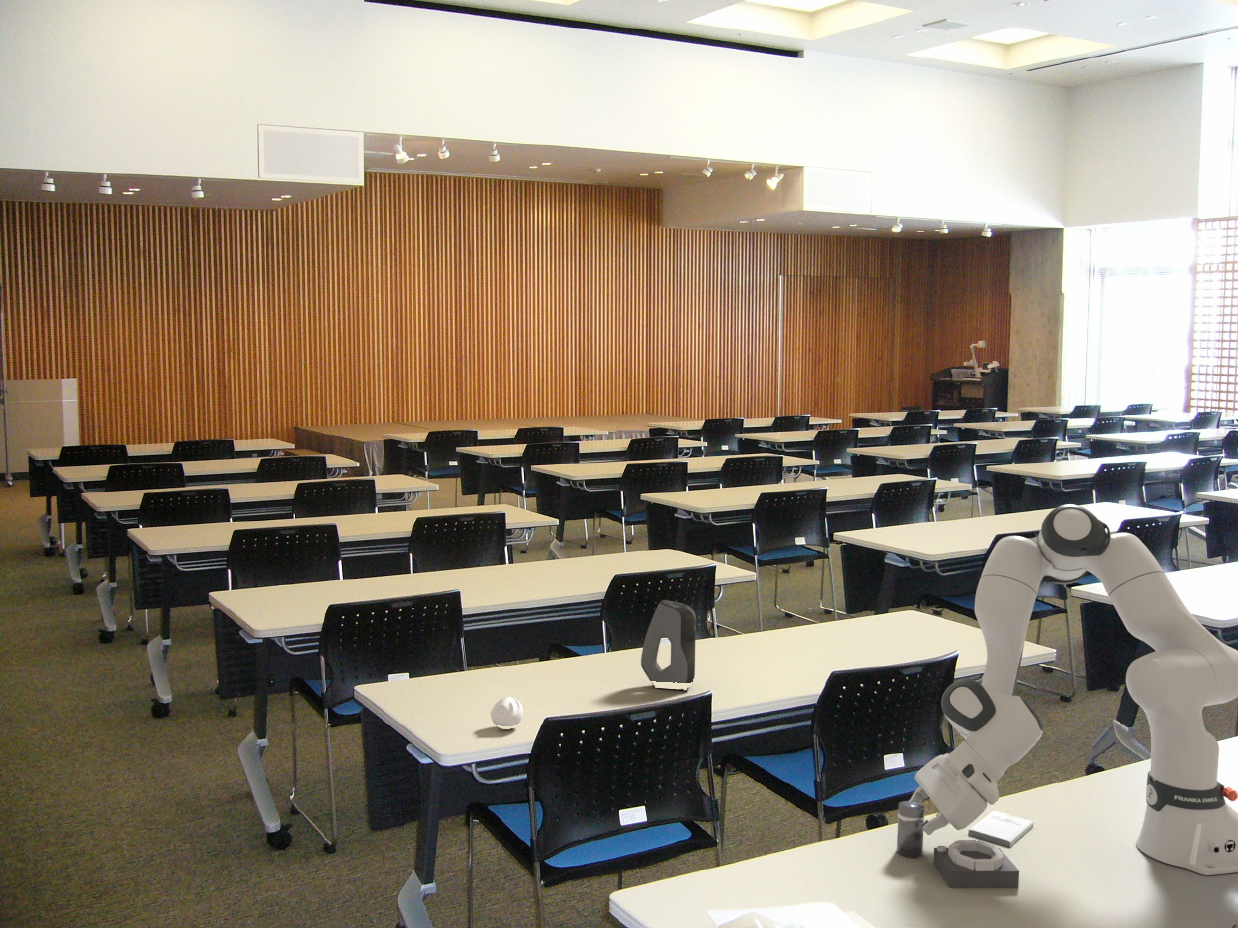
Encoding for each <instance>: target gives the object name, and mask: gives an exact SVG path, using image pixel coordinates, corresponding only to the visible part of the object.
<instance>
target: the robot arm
mask: <svg viewBox="0 0 1238 928" xmlns="http://www.w3.org/2000/svg"><path fill="white" fill-rule="evenodd" d="M1088 572H1089V573H1091V574H1092V575H1094V576H1095V577H1096V578H1097V580H1098V581H1099V582H1100V583H1102V585H1103V587H1104V590H1105V592H1106V594H1107V597H1108V598H1109V599H1110V601H1111V603H1112V604H1113V607H1114V608H1115V610H1116V612H1117V614H1118V617H1120V620H1121V621H1122V623H1123V625H1124V627H1125V628H1126V630H1127V632H1128V633H1130V635H1132V636H1133V637H1134V638H1136V639H1138V640H1140V641H1142V642H1143V643H1145V644H1147V645H1148V646H1150V647H1151V648H1152V649H1153V650H1154V651H1151V652H1150V653H1147V654H1145V655H1143V656H1140V657H1139V658H1136V659H1135V660H1133V661H1132V662H1131V663H1130V665H1129V666H1128V667H1127V670H1126V673H1125V683H1126V688H1127V692H1128V693H1129V696H1130V697H1131V698H1132V700H1133V701H1134V702H1135V703H1136V704H1137V705H1138V706H1139V707H1141V709H1142V710H1143V711H1144V713H1145V717H1146V718H1147V721H1148V726H1149V729H1150V742H1151V743H1150V767H1149V769H1150V770H1149V771H1148V772H1147V778H1146V788H1145V789H1146V791H1145V792H1146V793H1145V798H1146V799H1145V800H1146V801H1145V802H1146V807H1145V814H1144V819H1143V822H1142V826H1141V829H1140V831H1139V835H1138V837H1137V839H1136V846H1137V848H1138V849H1139V850H1140V851H1141V852H1143V854H1145V855H1146V856H1148V857H1150V858H1152V859H1154V860H1156V861H1159V862H1162V863H1164V864H1167V865H1171V866H1175V867H1180V868H1182V869H1186V870H1188V871H1193V872H1194V873H1198V874H1201V875H1204V876H1212V875H1213V876H1214V875H1222V874H1223V875H1224V874H1229V873H1230V874H1231V873H1233V874H1234V873H1238V811H1236V810H1235V809H1234V808H1232V807H1231V806H1230V805H1229V804H1228V803H1226V800H1225V798H1226V799H1227V800H1229V801H1230V802H1236V801H1237V799H1238V792H1237V791H1236V790H1234V789H1233V788H1232V787H1229V786H1227V787H1225V785H1223V784H1222V782H1219V781H1218V772H1219V755H1220V745H1219V743H1218V741H1217V738H1216V737H1215V736H1213V735H1212V734H1211V733H1210V732H1209V731H1207V730H1206V727H1205V723H1204V720H1203V719H1204V718H1203V709H1204V708H1205V707H1209V706H1216V705H1222V704H1226V703H1228V702H1231V701H1233V700H1235V699H1237V698H1238V650H1237V649H1235V648H1233V647H1231V646H1228V645H1227V644H1225V643H1224V642H1222V641H1221V640H1219V639H1218V638H1217V637H1216V636H1215V635H1214V634H1212V633H1211V632H1210V631H1209V630H1208V629H1207V628H1205V627H1204V625H1203V624H1201V623H1200V621H1198V620H1197V619H1196V617H1195V616H1194V615H1192V613H1191V612H1190V611H1189V609H1188V608H1187V607H1186V606H1185V605H1186V604H1184V603H1183V601H1182V599H1181V598H1180V596H1179V594H1178V593H1177V591H1176V589H1175V588H1174V586H1173V584H1172V582H1170V579H1169V578H1168V576H1167V574H1166V573H1165V571H1164V570H1163V568H1162V566H1161V565H1160V563H1159V561H1158V560H1157V559H1156V557H1155V556H1154V555H1153V554H1152V552H1151V551H1150V550H1149V548H1148V547H1147V546H1146V545H1145V544H1144V543H1143V542H1142V541H1141V539H1140V538H1139V537H1137V536H1136V535H1134V534H1132V533H1129V532H1116V533H1111V530H1110V527H1109V526H1108V524H1106V523H1105V522H1102V521H1101V520H1099V518H1097V517H1096V515H1095V514H1093V512H1091V511H1090V510H1088V509H1087V508H1085V507H1083V506H1081V505H1077V504H1071V503H1069V504H1061V505H1059V506H1057V507H1054V508H1053V509H1052V510H1051V511H1050V512H1048V514H1047V515H1046V516H1045V518H1044V520H1043V521H1042V523H1041V527H1040V530H1039V533H1038V536H1035V537H1031V538H1027V537H1024V536H1019V535H1008V536H1005V537H1002V538H1001V539H999V541H997V543H996V544H995V546H994V547H993V549H992V551H991V553H990V555H989V556H988V559H987V561H986V563H985V566H984V568H983V570H982V573H981V576H980V578H979V582H978V585H977V587H976V591H975V592H976V593H975V597H974V598H975V599H974V614H975V617H976V619H977V622H978V624H979V627H980V630H981V632H982V635H983V638H984V643H985V647H986V663H985V668H984V672H983V676H982V681H981V683H980V682H979V681H977V680H975V679H972V678H971V679H970V678H964V679H959V680H957V681H954V682H953V683H951V684H950V685H948V686H947V687H946V689H945V690H944V692H943V694H942V696H941V700H940V705H941V707H940V708H941V711H942V713H943V714H944V716H945V718H946V720H947V721H948V722H949V724H951V726H952V727H953V728H954V729H955V730H956V732H958V734H959V735H960V736H961V738H962V739H963V741H962V742H961V743H960V744H959V745H958V746H957V747H955V749H953V750H952V751H951V752H946V753H944V754H939V755H937V756H935V757H934V758H933V759H931V760H930V761H929V762H927V763H925V765H924V766H922V767H921V768H920V769H919V770H918V771H917V772H916V773H915V776H914V780H915V781H916V782H917V784H918V785H919V786H918V787H916V788H915V790H914V792H913V794H912V796H911V798H910V799H909V800H908V801H914V802H918V803H920V804H922V802H923V801H924V800H927V799H928V798H929V800H931V802H932V803H933V804H934V805H935V807H936V809H938V812H937V813H935V817H933V818H931V819H929V820H928V819H926V820H924V823H923V824H922V825H921V828H922V829H923V833H925V834H926V835H927V836H931V835H932V834H933V833H934V832H935V831H936V830H940V829H942V828H945V827H946V826H948V825H949V824H950V825H951V826H952V827H953V828H954V829H955V830H956V831H960V830H963V829H965V828H967V827H968V826H970V825H971V824H972V823H974V821H975V820H976V819H978V818H979V817H980V816H981V815H982V814H983V813H984V812H985V811H986V809H987V808H988V804H989V805H992V806H993V805H994V804H996V803H997V802H998V801H999V799H1000V794H999V789H998V780H999V779H1001V778H1002V776H1003V775H1004V774H1005V772H1006V770H1007V769H1008V768H1009V767H1010V766H1012V765H1014V764H1015V763H1018V762H1019V761H1020V760H1021V759H1022V758H1023V757H1024V756H1026V755H1027V753H1028V752H1029V751H1030V750H1032V749H1033V747H1034V746H1035V745H1036V743H1038V741H1039V740H1040V739H1041V737H1042V735H1043V733H1044V730H1045V729H1044V724H1043V722H1042V720H1041V719H1040V717H1039V716H1038V714H1037V712H1035V710H1034V709H1033V708H1032V707H1031V705H1030V704H1029V702H1028V701H1027V700H1026V699H1025V698H1024V697H1022V696H1019V695H1015V693H1016V686H1017V682H1018V677H1019V673H1020V669H1021V664H1022V658H1023V653H1024V652H1023V651H1024V646H1025V641H1026V636H1027V632H1028V628H1029V623H1030V620H1031V617H1032V612H1033V609H1034V606H1035V602H1036V598H1037V596H1038V592H1039V588H1040V585H1041V583H1052V584H1056V585H1057V584H1058V585H1069V584H1074V583H1076V582H1079V581H1080V580H1081V579H1082V578H1083V577H1085V576H1086V575H1087V574H1088Z"/></svg>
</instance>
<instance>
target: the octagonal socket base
mask: <svg viewBox="0 0 1238 928" xmlns="http://www.w3.org/2000/svg"><path fill="white" fill-rule="evenodd" d="M933 865H934V867H935V868H936V869H937V872H938V873H940V875H941V877H942V878H943V880H944V881H945V882H946V884H947V886H948V887H949V888H952V889H954V888H959V889H961V888H963V889H964V888H967V889H968V888H973V889H974V888H978V889H979V888H984V889H985V888H986V889H987V888H994V889H995V888H997V889H998V888H1001V889H1003V888H1007V889H1008V888H1010V889H1011V888H1012V889H1013V888H1016V889H1017V888H1019V885H1020V883H1019V882H1020V870H1019V869H1018V868H1017V867H1016V865H1014V863H1013V862H1012V860H1010V858H1009V857H1008V856H1007V855H1006V854H1005V852H1004V851H1003V850H1002V849H1001V848H1000V847H998V846H996V845H993V844H990V843H987V842H986V841H985V842H984V841H981V840H977V839H958V840H955V841H954V842H952V843H951V844H949V845H948V847H946V846H944V845H938V846H936V847H933Z"/></svg>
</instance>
